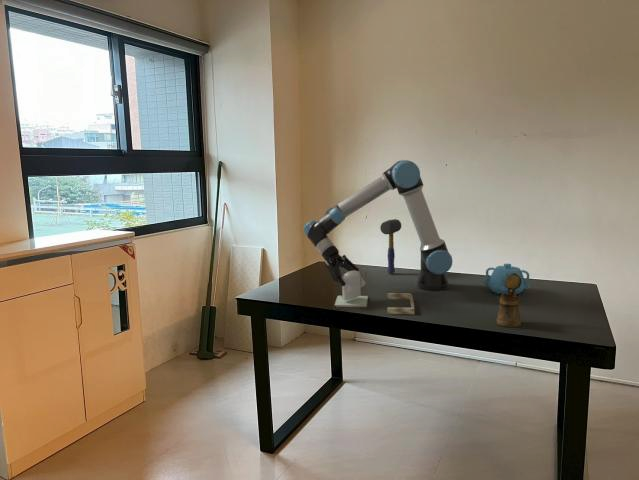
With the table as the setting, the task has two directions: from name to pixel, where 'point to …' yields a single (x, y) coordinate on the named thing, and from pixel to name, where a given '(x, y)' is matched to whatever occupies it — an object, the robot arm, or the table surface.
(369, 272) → the table surface
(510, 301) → the brown wooden ornament
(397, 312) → the frame
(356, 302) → the sage mat
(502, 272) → the decorative pot
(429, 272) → the robot arm
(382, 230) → the rubber mallet
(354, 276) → the grey upright block
